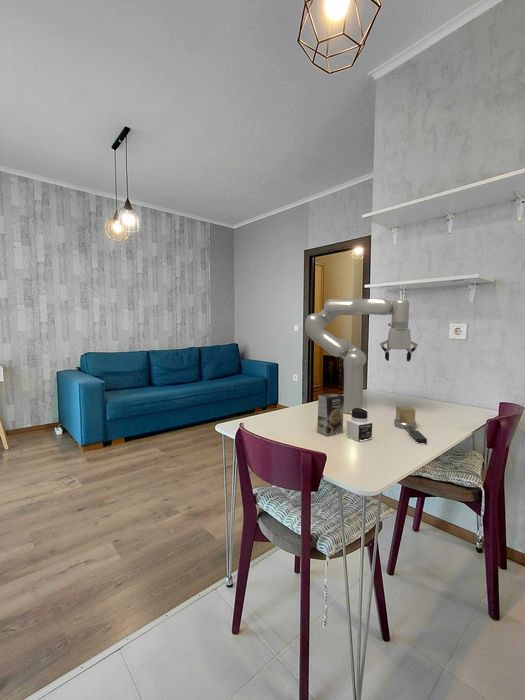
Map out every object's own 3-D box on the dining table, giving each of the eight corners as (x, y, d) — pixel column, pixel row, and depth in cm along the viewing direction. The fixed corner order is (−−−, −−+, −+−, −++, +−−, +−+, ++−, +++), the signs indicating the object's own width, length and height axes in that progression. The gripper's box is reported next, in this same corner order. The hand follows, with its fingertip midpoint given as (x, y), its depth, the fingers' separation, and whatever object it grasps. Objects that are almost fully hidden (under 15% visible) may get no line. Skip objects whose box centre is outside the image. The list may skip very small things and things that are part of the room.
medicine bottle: (358, 442, 129) (359, 412, 128) (346, 436, 135) (346, 407, 134) (372, 439, 132) (373, 409, 131) (359, 434, 139) (360, 405, 138)
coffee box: (327, 436, 135) (328, 397, 134) (316, 432, 140) (317, 394, 139) (343, 433, 140) (344, 395, 138) (332, 428, 145) (333, 392, 144)
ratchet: (409, 443, 128) (410, 427, 128) (392, 422, 155) (392, 409, 154) (434, 444, 127) (434, 428, 127) (412, 423, 153) (412, 410, 153)
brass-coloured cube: (399, 422, 147) (400, 409, 146) (395, 418, 153) (396, 405, 152) (414, 423, 146) (415, 410, 145) (410, 419, 152) (410, 406, 152)
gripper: (382, 325, 159) (380, 361, 160) (420, 326, 156) (418, 362, 157) (379, 325, 166) (377, 359, 168) (416, 326, 163) (414, 360, 165)
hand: (397, 360), depth 163 cm, fingers open, 9 cm apart
